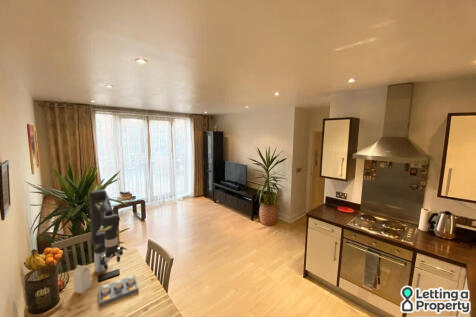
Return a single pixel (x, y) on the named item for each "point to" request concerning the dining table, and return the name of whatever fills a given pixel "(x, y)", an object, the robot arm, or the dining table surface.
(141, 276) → the dining table surface
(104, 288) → the button
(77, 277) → the milk carton
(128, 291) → the button board
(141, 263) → the dining table surface
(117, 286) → the button
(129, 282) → the button
